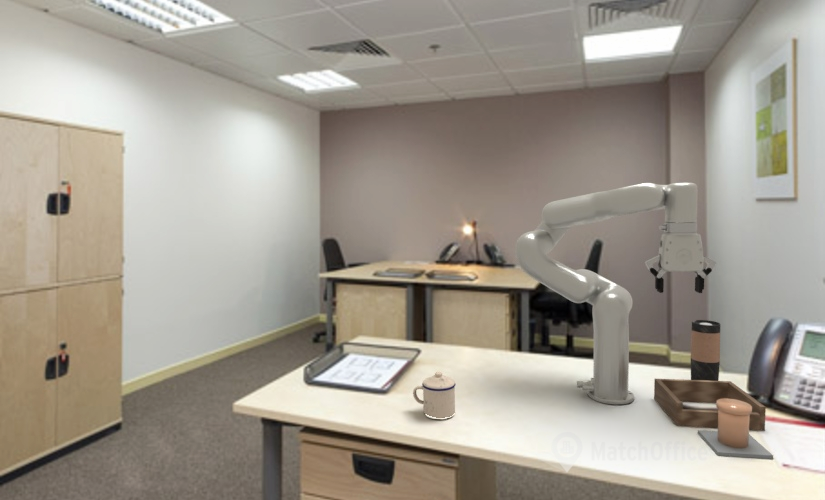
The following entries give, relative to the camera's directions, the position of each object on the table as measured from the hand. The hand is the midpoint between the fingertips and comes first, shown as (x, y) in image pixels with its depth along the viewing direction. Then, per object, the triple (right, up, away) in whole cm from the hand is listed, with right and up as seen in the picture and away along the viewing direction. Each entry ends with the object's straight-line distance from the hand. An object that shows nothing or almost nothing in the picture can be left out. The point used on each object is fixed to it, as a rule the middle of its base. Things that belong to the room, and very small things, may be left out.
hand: (679, 292), depth 130 cm
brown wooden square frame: (+6, -32, -2) cm, 33 cm away
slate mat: (+2, -34, -19) cm, 39 cm away
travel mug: (+18, -31, +18) cm, 40 cm away
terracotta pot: (+2, -33, -19) cm, 38 cm away
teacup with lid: (-66, -34, +2) cm, 75 cm away
